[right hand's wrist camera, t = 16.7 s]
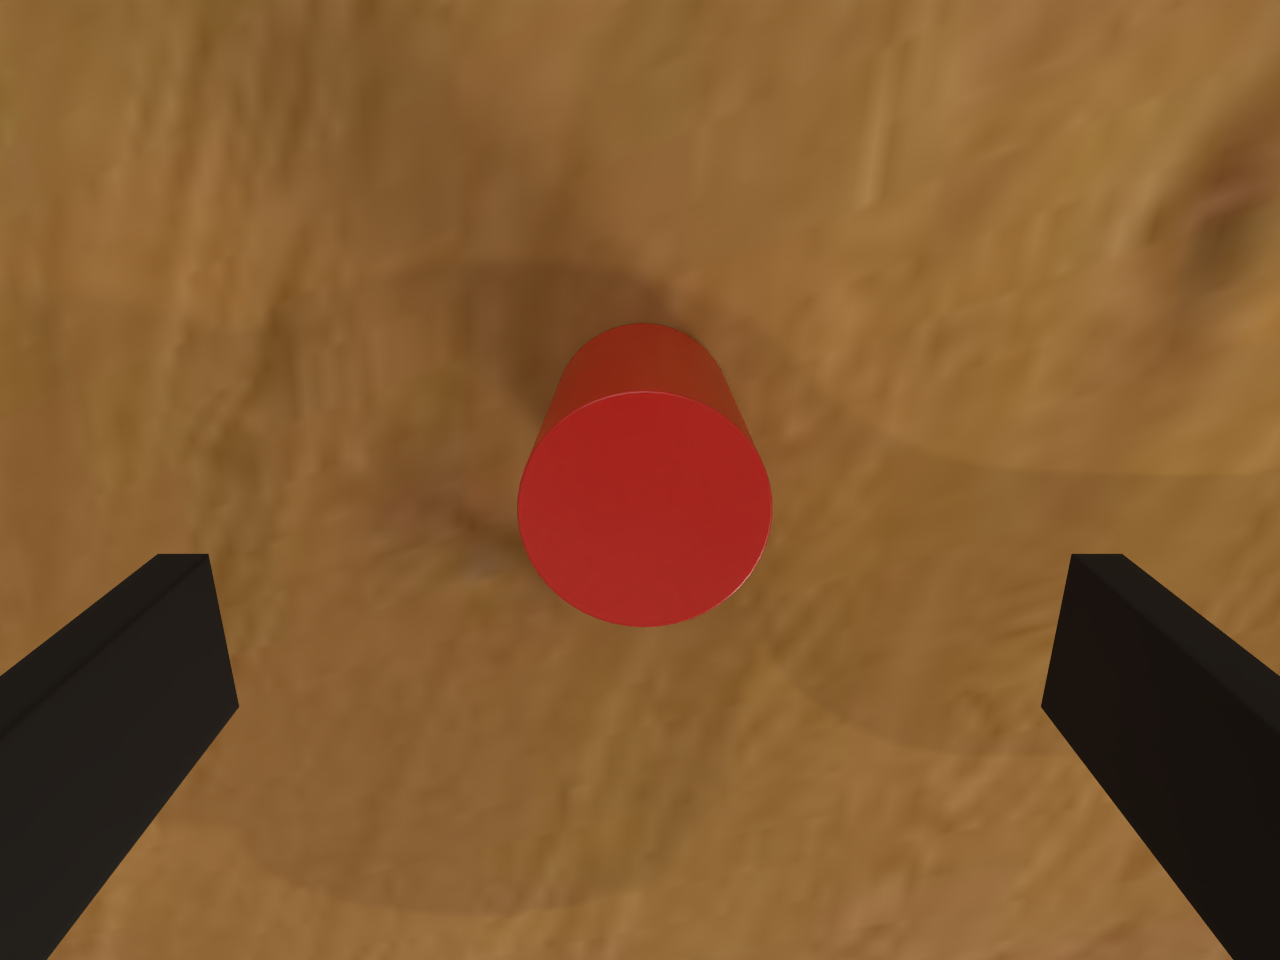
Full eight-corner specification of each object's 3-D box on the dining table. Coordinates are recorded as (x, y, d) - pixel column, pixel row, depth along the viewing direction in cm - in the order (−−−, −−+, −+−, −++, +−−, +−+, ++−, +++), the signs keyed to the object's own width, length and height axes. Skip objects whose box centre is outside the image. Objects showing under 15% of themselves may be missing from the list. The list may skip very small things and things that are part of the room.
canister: (672, 520, 27) (687, 666, 19) (525, 441, 26) (473, 557, 18) (763, 379, 26) (823, 471, 17) (609, 288, 25) (595, 340, 16)
